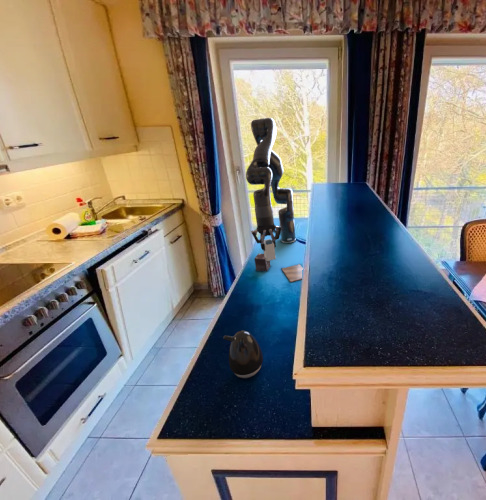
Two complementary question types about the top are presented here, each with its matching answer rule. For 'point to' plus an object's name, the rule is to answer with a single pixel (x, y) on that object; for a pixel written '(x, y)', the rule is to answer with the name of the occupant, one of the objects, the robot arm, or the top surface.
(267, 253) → the white and blue block
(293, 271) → the wooden board
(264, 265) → the box
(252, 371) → the pump dispenser
